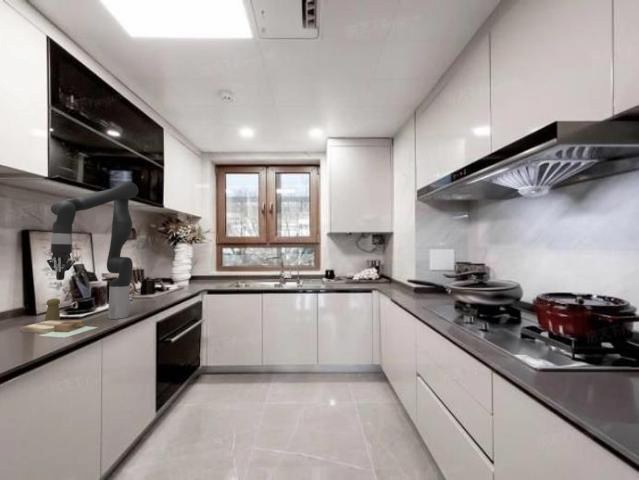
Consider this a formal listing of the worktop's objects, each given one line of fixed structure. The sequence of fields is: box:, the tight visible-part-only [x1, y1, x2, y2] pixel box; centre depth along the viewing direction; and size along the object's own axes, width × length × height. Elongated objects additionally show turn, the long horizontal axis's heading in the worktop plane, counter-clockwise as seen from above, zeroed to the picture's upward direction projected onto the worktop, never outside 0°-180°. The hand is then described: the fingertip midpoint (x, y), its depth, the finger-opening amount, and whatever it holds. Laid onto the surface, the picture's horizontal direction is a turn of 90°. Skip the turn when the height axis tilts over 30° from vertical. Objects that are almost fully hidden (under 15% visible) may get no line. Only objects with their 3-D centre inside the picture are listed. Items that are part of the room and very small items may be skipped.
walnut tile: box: [54, 319, 85, 332], centre depth 134 cm, size 9×6×3 cm, turn 0°
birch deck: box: [20, 320, 68, 334], centre depth 136 cm, size 13×14×2 cm
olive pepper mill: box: [44, 298, 61, 322], centre depth 150 cm, size 6×6×11 cm
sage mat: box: [38, 325, 99, 339], centre depth 131 cm, size 16×12×1 cm
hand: (60, 279), depth 137 cm, fingers closed
